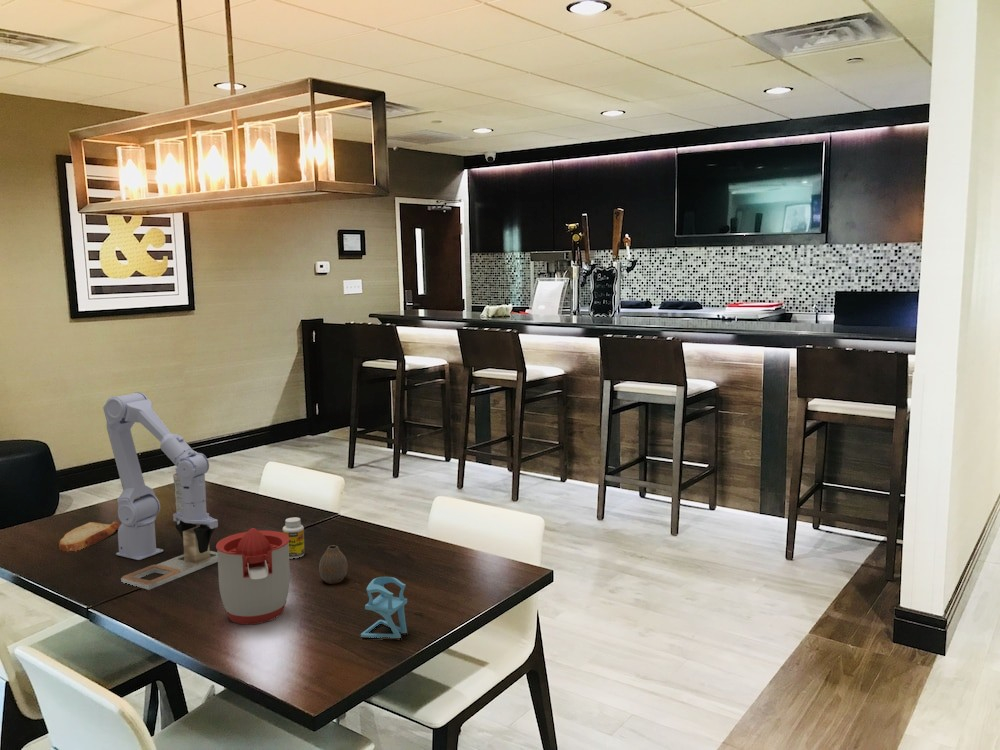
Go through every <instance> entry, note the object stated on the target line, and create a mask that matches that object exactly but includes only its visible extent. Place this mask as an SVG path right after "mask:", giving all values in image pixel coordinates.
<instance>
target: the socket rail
mask: <svg viewBox="0 0 1000 750" xmlns="http://www.w3.org/2000/svg"><path fill="white" fill-rule="evenodd" d="M215 563H218V553H217V551H212V550H210V558H208V559H206V560H203V561H201V562H198V563H193V562H188V561H184V553H183V554H181V555H177V556H175V557H173V558H171V559H167V560H165V561H162V562H160V563H157V564H151V565H148V566H146V567H143V568H141V569H138V570H135V571H133V572H130V573H127V574H125V575H123V576H122V577H120V580H121V581H120V582H123V583H122V584H125V583H127V584H126V585H128V584H130V585H129V586H132V585H133V586H134V587H136V586H137V587H136V588H141V589H143V590H144V589H145V590H147V591H150V590H152V589H155V588H157V587H159V586H162V585H164V584H167V583H169V582H172V581H174V580H177V579H179V578H182V577H185V576H186V575H189V574H191V573H193V572H196V571H199V570H201V569H203V568H206V567H208V566H210V565H213V564H215ZM154 573H156V574H160V576H159V577H155V578H153V579H151V580H148V579H144V577H147V576H149V575H151V574H154ZM146 575H147V576H146ZM133 586H132V587H133Z"/></svg>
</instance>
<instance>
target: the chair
mask: <svg viewBox="0 0 1000 750" xmlns="http://www.w3.org/2000/svg"><path fill="white" fill-rule="evenodd" d="M389 583H393V584H395V585H396V586H398V587H399V588H400V591H399V595H398V596H399V597H398V596H394V593H393V592H391V591H389V590H388V589H387V588H385V585H386V584H389ZM405 589H406V583H403V582H402V581H400V580H399V579H397V578H396V577H392V576H378V577H376V578H373V579H372V580H371V581H370V582H369V584H368V585H367V587H366V592H367V597H368V599H369V600H368V602H367V603H366V604H365V605H364V610H367V611H373V612H375V613H377V614H378V615H380V616H381V617H382V618H384V620H383V619H378V620H377V621H376V622H375V623H373V624H372V625H371V626H369V627H368V628H367V629H366V630H364V631H363V632H360V638H361V637H369V638H370V637H371V638H374V637H375V638H376V637H377V638H380V637H381V638H382V637H388V638H389V637H390V638H401V639H402V635H401V634H400V633H399V632H401V633H407V634H408V630H407V623H406V614H405V605H406V604H407V603H408V598H405V597H404V591H405ZM373 593H380V594H378V595H377V596H376V597H375V598H374V597H373ZM396 612H397V615H398V622H399V626H398V625H396V624H395V623H394V621H393V618H392V615H393V614H395V613H396ZM379 624H384V625H386V626H388V627H390V628H391V630H390V631H391V632H392V633H374V632H373V633H372V632H370V631H371V630H372V629H374V628H375V627H376V626H378V625H379ZM379 626H380V625H379ZM379 626H378V627H379ZM375 629H376V628H375ZM375 629H374V630H375ZM369 632H370V633H369Z"/></svg>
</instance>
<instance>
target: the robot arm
mask: <svg viewBox="0 0 1000 750" xmlns="http://www.w3.org/2000/svg"><path fill="white" fill-rule="evenodd" d="M102 409H103V413H104V416H105V417H104V418H105V420H106V431H107V435H108V439H109V442H110V445H111V450H112V454H113V458H114V460H115V463H116V467H117V472H118V476H119V479H120V480H119V481H120V483H121V487H122V492H121V493H120V495H119V497H118V498H117V500H116V502H117V516H118V520H119V521H120V522H121V524H119V525H120V527H119V529H118V530H117V542H118V552H116V553H115V555H116V556H120V557H122V558H123V557H124V558H127V559H133V560H136V561H141V560H144V559H147V558H149V557H152V556H155V555H157V554H160V553H162V552H164V549H162V548H158V547H157V541H156V526H155V525H156V524H155V520H157V515H158V514H160V511H161V502H160V500H159V499H158V497H157V496H156V494H155V490H154V489H153V488H152V487H149V486H148V485H147V484H146V483H145V480H144V476H143V472H142V468H141V464H140V461H139V457H138V453H137V450H136V446H135V442H134V439H133V435H132V431H131V429H132V428H133V426H134V424H135V423H140V425H142V426H143V427H144V428H146V430H148V431H149V433H151V434H152V436H153V437H155V439H157V440H158V441H159V442H160V447H159V448H160V450H161V451H162V452H163V453H164V454H165V455H166V457H167V458H168V459H169V460H170V461H171V462H172V463H173V464H174V465H175V466H176V468H175V472H176V473H177V475H178V477H179V478H180V484H181V485H182V498H183V513H181V512H178V513H176V512H175V513H173V514H172V518H173V519H172V520H173V522H177V521H180V523H179V524H178V525H177V524H176V525H175V529H176V530H177V532H178V533H179V535H180V537H181V539H182V540H183V531H185V530H188V529H191V528H194V527H197V528H194V529H193V530H194V532H195V534H196V537H197V540H198V548H199V552H200V553H204V552H206V551H207V550H208V546H209V547H210V541H211V538H212V536H213V533H214V531H215V529H216V528H218V527H219V519H216V518H213V517H212V516H210V513H209V512H207V496H206V493H207V492H206V491H207V490H206V476H205V475H206V474H207V473H208V472H209V469H210V462H209V460H208V458H207V456H206V455H205V454H204V453H202V452H197V451H195V450H194V449H192V447H191V446H190V445H189V444H188V443H187V442H186V441H185V438H184V437H183V436H182V435H180V434H177V433H172V432H171V431H170V429H168V427H167V426H166V424H165V422H163V421H162V419H161V418H160V417H159V416H158V414H157V413H156V412H155V411H154V409H153V402H152V400H150V399H149V398H148V397H147V395H146V394H145V393H143V392H141V391H137V392H134V393H133V392H132V393H129V394H128V393H127V394H124V395H119V396H118V395H115V396H114V395H113V396H111V397H109V398H108V399H107V400H106V402H105V404H104V405H103V407H102ZM197 525H198V526H197Z"/></svg>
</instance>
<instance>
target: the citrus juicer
mask: <svg viewBox="0 0 1000 750" xmlns="http://www.w3.org/2000/svg"><path fill="white" fill-rule="evenodd" d="M289 541H290V538H289V536H288V535H286V534H285V533H283V532H281V531H278V530H277V531H276V530H258V529H256V528H255V527H252V528H250V529H249V530H248V531H243V532H238V533H234V534H230V535H228V536H226V537H224V538H221V539H220V540H219V541H217V543H216V545H215V549H216V550H217V551H216V552H217V553H218V562H217V571H218V586H219V587H218V588H219V593H220V599H221V602H222V605H223V608H224V611H225V613H226V615H227V617H228V619H229V620H230V621H231V622H233V623H237V624H238V625H242V626H243V625H256V624H261V623H266V622H269V621H270V622H271V621H273V620H275V619H277V618H278V617H280V615H282V613H283V612H284V609H285V607H286V603H287V599H288V595H289V589H290V581H291V580H290V579H291V575H290V574H291V573H290V569H291V568H290V559H289Z"/></svg>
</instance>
